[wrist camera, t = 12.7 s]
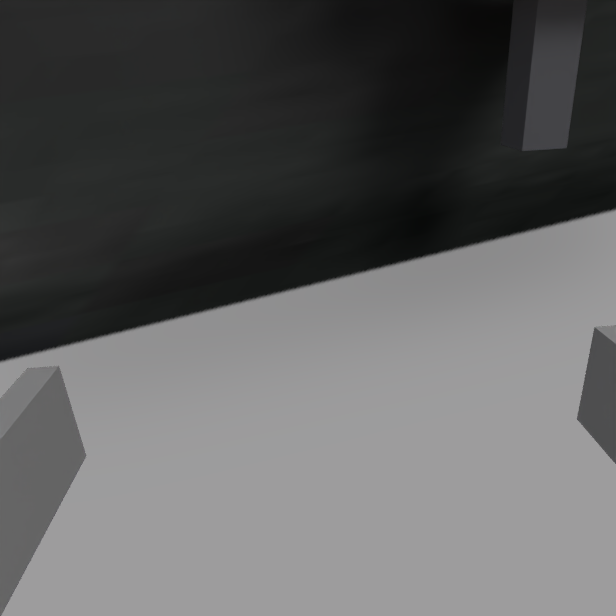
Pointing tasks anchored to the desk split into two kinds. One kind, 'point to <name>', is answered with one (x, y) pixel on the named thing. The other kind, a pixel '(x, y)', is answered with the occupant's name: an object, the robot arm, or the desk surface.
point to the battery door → (542, 73)
